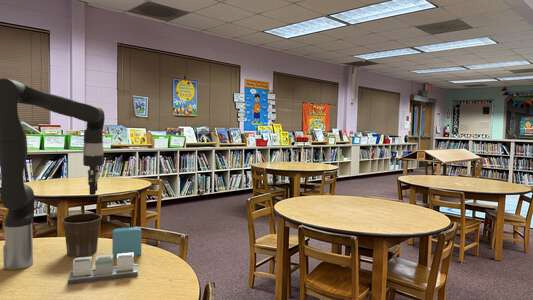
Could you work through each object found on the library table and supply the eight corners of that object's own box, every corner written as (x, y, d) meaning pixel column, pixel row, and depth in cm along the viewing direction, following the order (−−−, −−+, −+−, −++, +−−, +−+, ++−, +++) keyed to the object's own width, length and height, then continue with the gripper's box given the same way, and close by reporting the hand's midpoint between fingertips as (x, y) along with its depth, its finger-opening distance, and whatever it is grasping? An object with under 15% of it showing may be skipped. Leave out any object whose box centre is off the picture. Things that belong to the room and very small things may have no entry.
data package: (140, 251, 163) (141, 226, 162) (141, 255, 159) (141, 229, 158) (112, 254, 159) (112, 228, 158) (112, 258, 154) (112, 231, 154)
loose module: (95, 275, 133) (95, 259, 133) (96, 270, 137) (96, 255, 137) (112, 273, 135) (112, 258, 135) (113, 269, 139) (113, 253, 139)
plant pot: (101, 256, 156) (100, 221, 155) (59, 261, 150) (58, 224, 148) (102, 245, 171) (102, 212, 170) (64, 248, 164) (64, 214, 163)
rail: (67, 284, 128) (67, 264, 128) (71, 275, 136) (70, 256, 135) (137, 276, 137) (137, 257, 136) (137, 268, 144) (137, 250, 144)
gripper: (85, 152, 151) (85, 190, 152) (81, 155, 137) (81, 196, 138) (104, 152, 153) (104, 189, 154) (102, 155, 140) (102, 195, 141)
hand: (93, 192), depth 146 cm, fingers open, 8 cm apart
